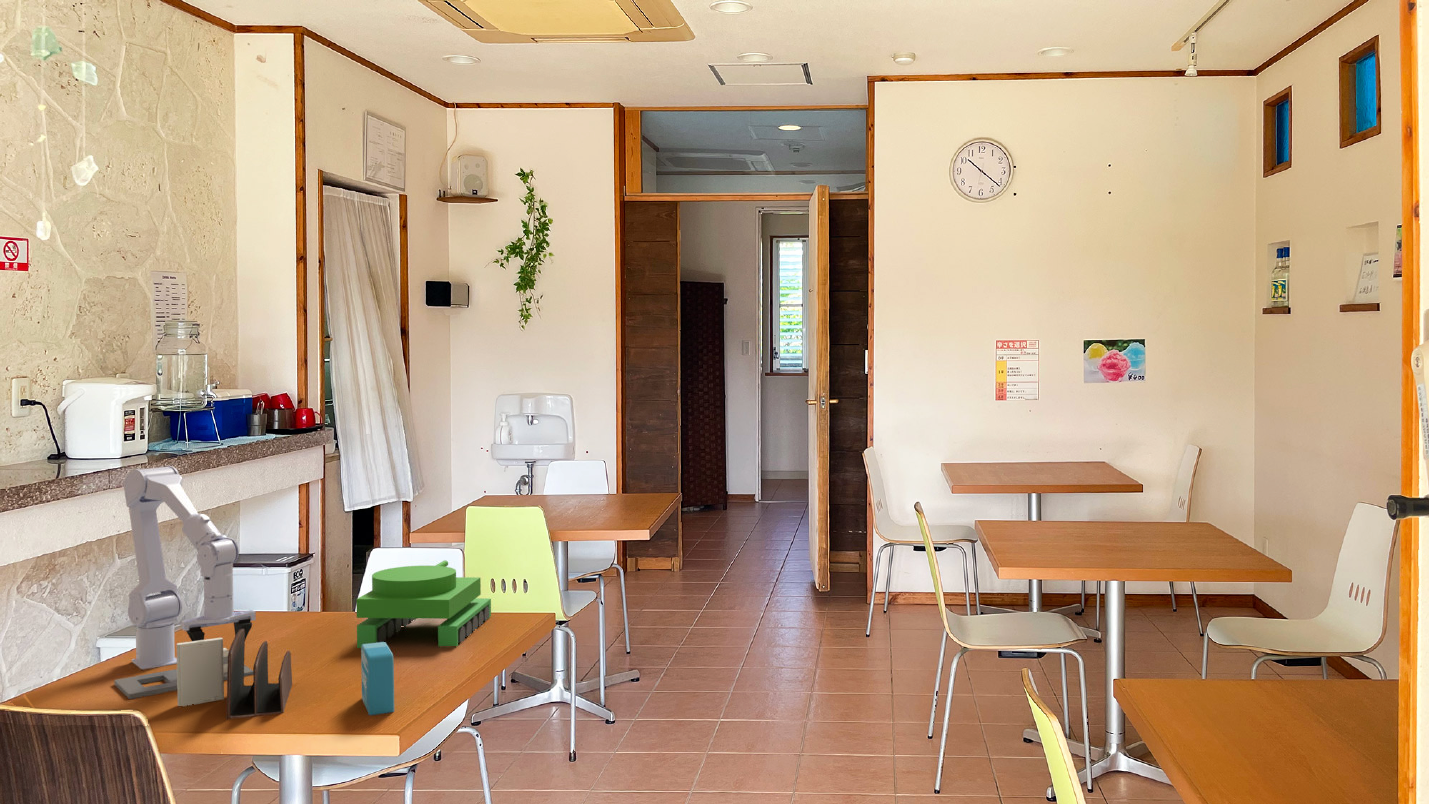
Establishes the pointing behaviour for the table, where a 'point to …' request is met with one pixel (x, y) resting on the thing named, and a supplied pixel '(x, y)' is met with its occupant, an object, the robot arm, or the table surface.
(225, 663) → the plug
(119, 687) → the jack panel
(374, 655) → the data package
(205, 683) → the external hard drive
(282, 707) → the letter holder
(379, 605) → the tank
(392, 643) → the table surface
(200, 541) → the robot arm
